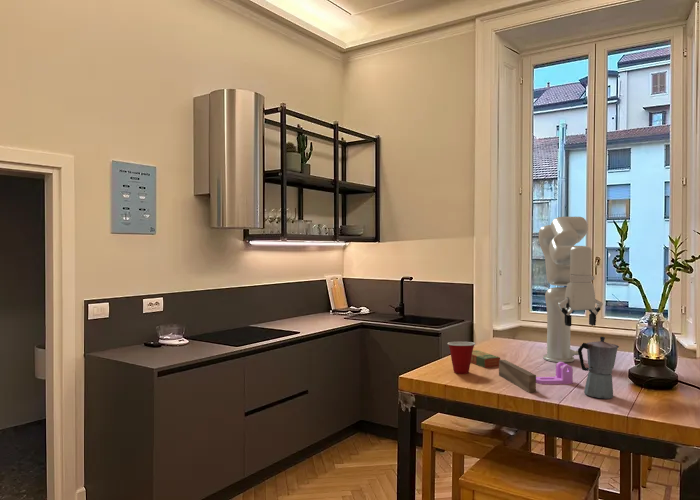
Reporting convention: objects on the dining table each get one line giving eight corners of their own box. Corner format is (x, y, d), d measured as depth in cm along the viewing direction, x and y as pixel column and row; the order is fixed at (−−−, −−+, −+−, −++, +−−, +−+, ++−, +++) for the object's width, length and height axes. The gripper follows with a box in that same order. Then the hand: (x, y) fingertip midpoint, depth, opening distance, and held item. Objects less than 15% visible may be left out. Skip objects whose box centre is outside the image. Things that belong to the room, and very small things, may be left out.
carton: (477, 358, 238) (477, 349, 238) (500, 366, 224) (500, 356, 223) (461, 360, 235) (461, 350, 235) (484, 368, 220) (484, 358, 220)
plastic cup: (468, 368, 219) (468, 339, 219) (479, 374, 209) (479, 344, 208) (443, 369, 217) (443, 339, 217) (452, 376, 207) (453, 345, 207)
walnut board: (505, 374, 209) (505, 359, 208) (535, 392, 185) (536, 375, 185) (498, 375, 208) (499, 359, 208) (529, 392, 184) (529, 375, 184)
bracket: (565, 380, 202) (565, 361, 202) (572, 384, 196) (572, 365, 196) (531, 380, 201) (531, 362, 201) (538, 384, 195) (538, 365, 195)
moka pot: (627, 398, 179) (628, 338, 178) (589, 402, 174) (589, 340, 174) (606, 390, 188) (607, 333, 187) (569, 393, 183) (569, 335, 183)
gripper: (596, 278, 205) (595, 323, 205) (553, 279, 203) (553, 324, 203) (608, 280, 198) (607, 326, 198) (564, 280, 195) (564, 327, 195)
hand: (580, 325), depth 200 cm, fingers open, 9 cm apart
